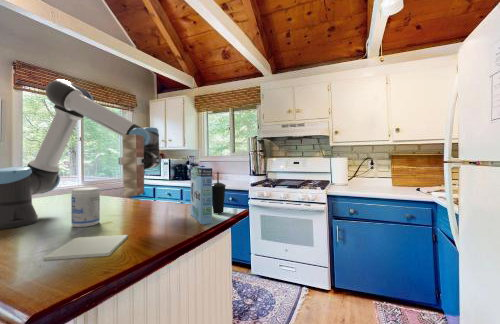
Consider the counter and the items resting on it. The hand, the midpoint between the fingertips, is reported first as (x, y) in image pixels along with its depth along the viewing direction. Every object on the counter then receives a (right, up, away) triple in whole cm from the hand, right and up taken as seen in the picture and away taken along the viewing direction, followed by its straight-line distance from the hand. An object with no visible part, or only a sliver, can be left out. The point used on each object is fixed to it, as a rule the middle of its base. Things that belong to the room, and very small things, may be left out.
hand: (129, 161), depth 86 cm
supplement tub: (-24, -26, +13) cm, 38 cm away
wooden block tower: (-1, -12, +5) cm, 14 cm away
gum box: (+21, -26, +21) cm, 39 cm away
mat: (-6, -26, -12) cm, 29 cm away
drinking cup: (+27, -25, +32) cm, 49 cm away
